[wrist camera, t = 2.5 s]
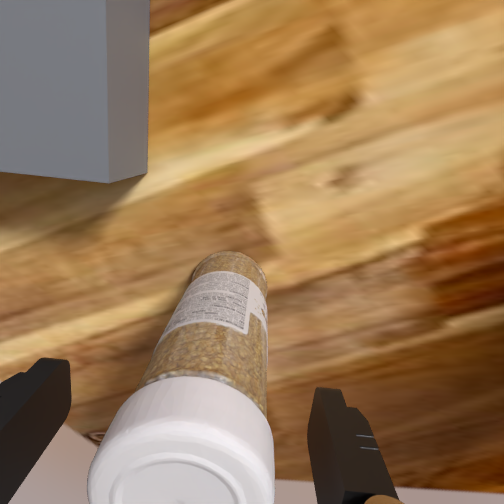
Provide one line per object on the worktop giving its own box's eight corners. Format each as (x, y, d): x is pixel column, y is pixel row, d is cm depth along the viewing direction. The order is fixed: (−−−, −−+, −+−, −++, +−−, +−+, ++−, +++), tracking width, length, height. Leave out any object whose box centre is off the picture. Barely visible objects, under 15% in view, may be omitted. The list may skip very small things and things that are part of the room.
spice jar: (260, 324, 22) (257, 588, 9) (187, 312, 22) (77, 562, 9) (274, 254, 20) (293, 449, 8) (196, 241, 20) (80, 415, 7)
